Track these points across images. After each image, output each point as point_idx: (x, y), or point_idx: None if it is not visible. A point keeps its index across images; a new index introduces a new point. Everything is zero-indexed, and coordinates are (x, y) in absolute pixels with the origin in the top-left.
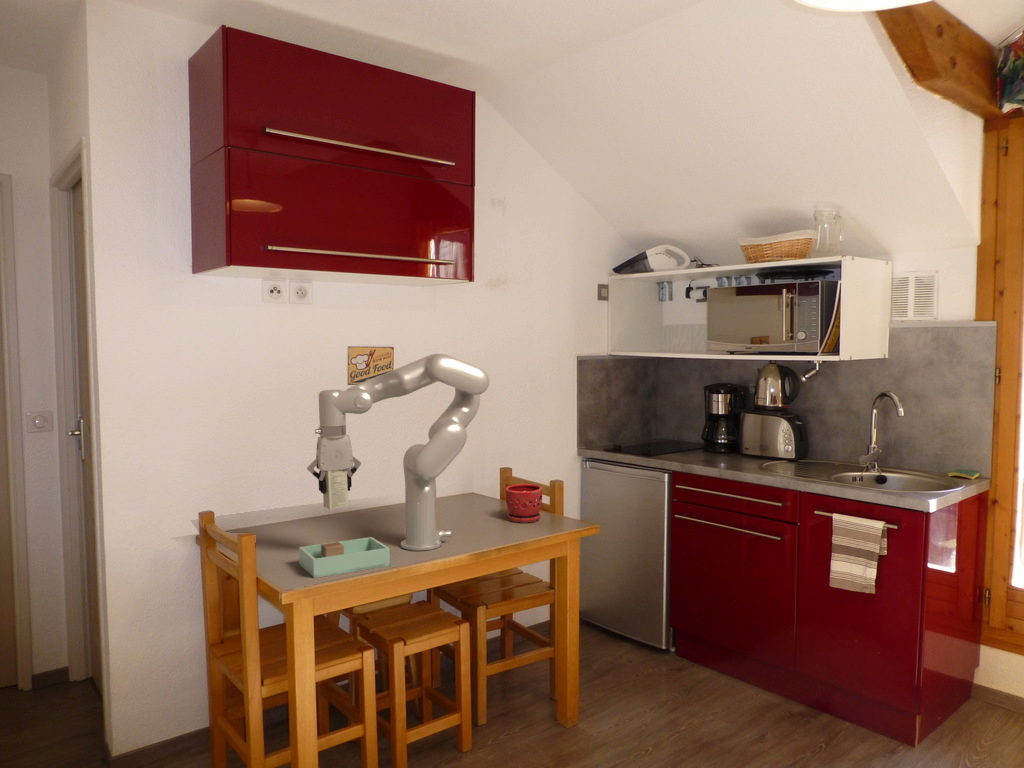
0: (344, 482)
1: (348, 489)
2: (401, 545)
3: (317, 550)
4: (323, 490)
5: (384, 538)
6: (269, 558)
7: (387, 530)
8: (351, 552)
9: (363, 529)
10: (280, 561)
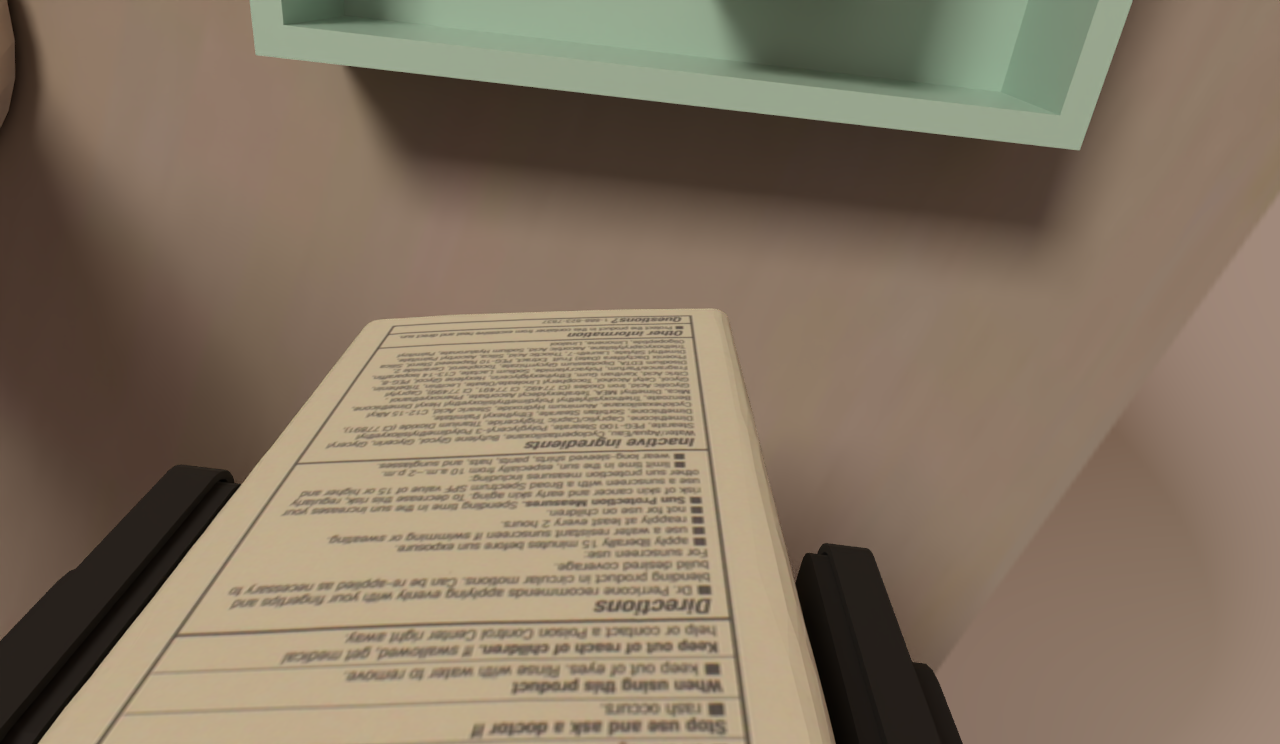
0: (218, 641)
1: (212, 481)
2: (3, 40)
3: (883, 89)
4: (883, 599)
5: (115, 406)
6: (1069, 427)
7: (52, 574)
8: (530, 39)
9: None
10: (1061, 305)
